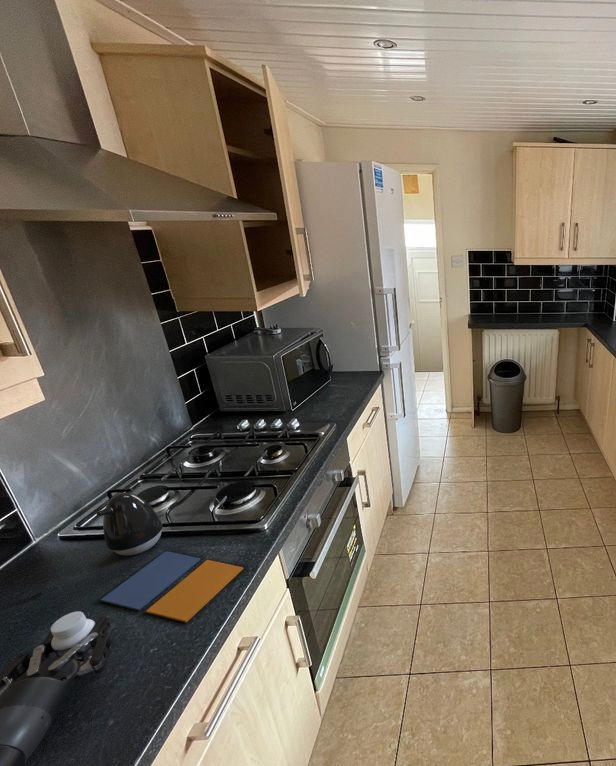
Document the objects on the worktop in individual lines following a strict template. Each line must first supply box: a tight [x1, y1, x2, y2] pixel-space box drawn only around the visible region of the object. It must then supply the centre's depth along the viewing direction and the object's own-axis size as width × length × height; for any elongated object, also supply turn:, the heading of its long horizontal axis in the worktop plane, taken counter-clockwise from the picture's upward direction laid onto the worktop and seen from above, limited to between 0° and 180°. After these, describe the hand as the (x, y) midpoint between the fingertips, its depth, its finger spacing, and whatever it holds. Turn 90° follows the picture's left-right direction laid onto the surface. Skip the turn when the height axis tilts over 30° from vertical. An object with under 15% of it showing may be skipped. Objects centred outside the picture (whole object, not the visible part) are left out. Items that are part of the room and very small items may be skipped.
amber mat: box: [145, 559, 244, 623], centre depth 89 cm, size 14×10×1 cm
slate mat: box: [100, 550, 201, 611], centre depth 92 cm, size 14×10×1 cm
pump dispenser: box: [95, 492, 163, 556], centre depth 98 cm, size 10×10×15 cm
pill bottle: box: [50, 611, 96, 660], centre depth 72 cm, size 5×5×10 cm
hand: (83, 624), depth 73 cm, fingers closed on pill bottle, 5 cm apart
